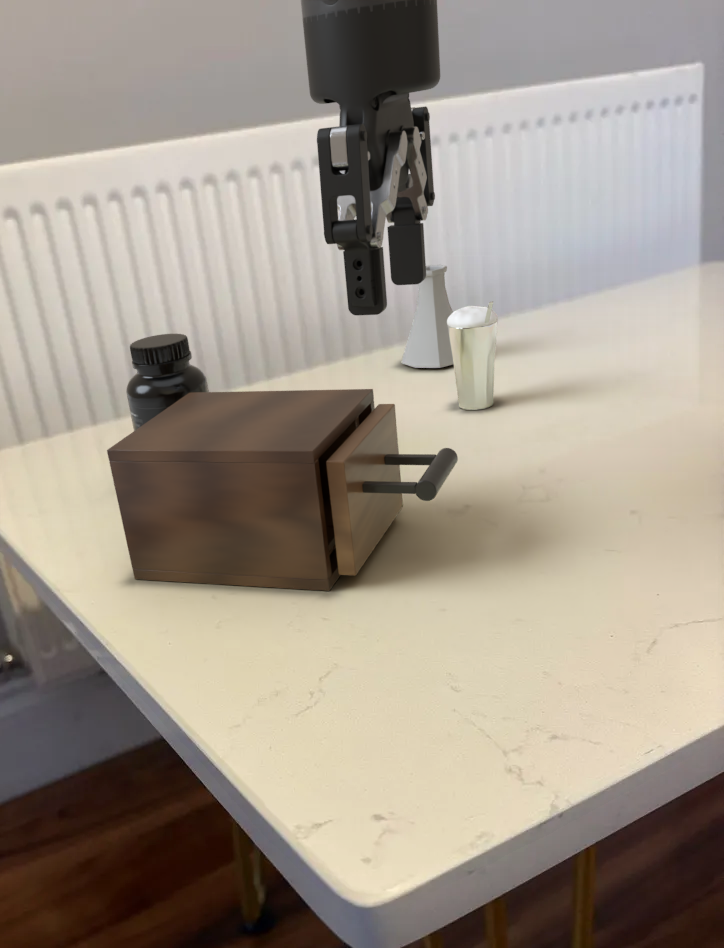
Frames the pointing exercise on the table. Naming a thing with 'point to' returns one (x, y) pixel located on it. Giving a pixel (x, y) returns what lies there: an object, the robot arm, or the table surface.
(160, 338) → the supplement bottle
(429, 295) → the flask
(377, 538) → the drawer
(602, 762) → the table surface
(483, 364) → the milkshake
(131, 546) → the cabinet
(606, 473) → the table surface
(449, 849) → the table surface
